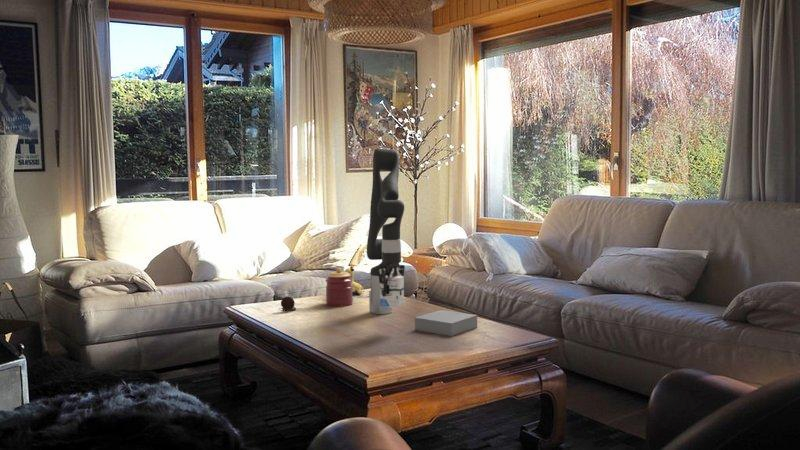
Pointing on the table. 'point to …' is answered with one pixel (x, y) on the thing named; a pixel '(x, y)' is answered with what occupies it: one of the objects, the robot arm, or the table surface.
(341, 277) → the canister
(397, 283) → the ink box
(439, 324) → the plinth
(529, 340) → the table surface
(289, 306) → the dark brown round ball
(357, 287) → the stuffed giraffe
